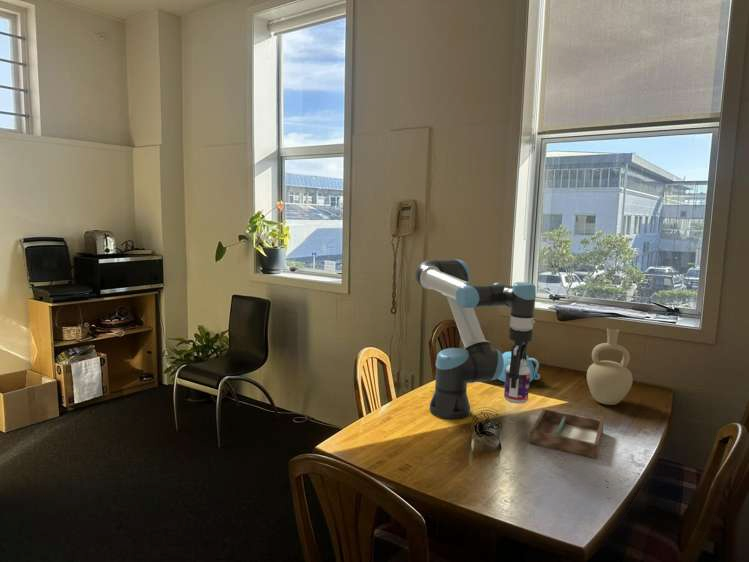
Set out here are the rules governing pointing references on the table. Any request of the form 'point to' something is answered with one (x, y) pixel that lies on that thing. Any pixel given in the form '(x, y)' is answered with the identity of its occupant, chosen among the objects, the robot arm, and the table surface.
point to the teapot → (529, 364)
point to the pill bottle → (522, 386)
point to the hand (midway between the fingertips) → (516, 392)
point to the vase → (609, 373)
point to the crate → (568, 433)
